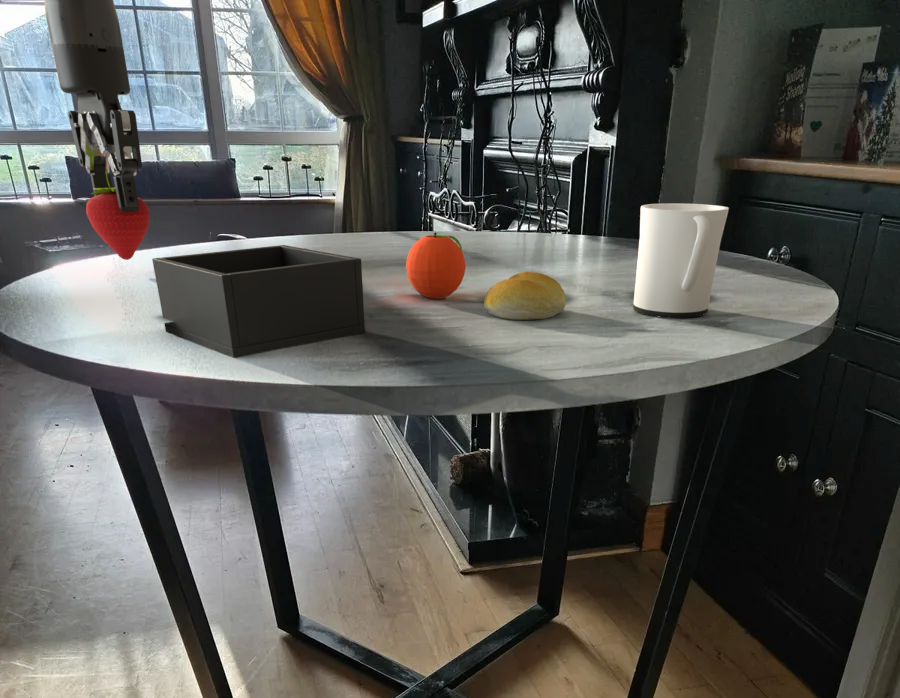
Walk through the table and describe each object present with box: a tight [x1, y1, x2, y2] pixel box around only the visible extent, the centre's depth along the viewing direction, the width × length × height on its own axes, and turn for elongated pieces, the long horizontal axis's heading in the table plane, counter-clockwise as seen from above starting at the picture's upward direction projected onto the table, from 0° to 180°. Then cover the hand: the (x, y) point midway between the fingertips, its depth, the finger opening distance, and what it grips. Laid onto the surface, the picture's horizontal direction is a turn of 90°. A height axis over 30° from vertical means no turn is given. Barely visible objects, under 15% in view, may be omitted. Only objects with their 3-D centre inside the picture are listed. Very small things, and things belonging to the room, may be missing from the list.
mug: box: [632, 203, 730, 319], centre depth 83 cm, size 11×9×10 cm
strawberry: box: [85, 170, 151, 261], centre depth 96 cm, size 6×8×10 cm
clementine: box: [405, 232, 466, 300], centre depth 91 cm, size 8×7×7 cm
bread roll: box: [483, 271, 567, 321], centre depth 84 cm, size 8×9×4 cm
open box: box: [151, 244, 366, 358], centre depth 75 cm, size 15×14×7 cm
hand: (117, 209), depth 96 cm, fingers closed on strawberry, 6 cm apart
